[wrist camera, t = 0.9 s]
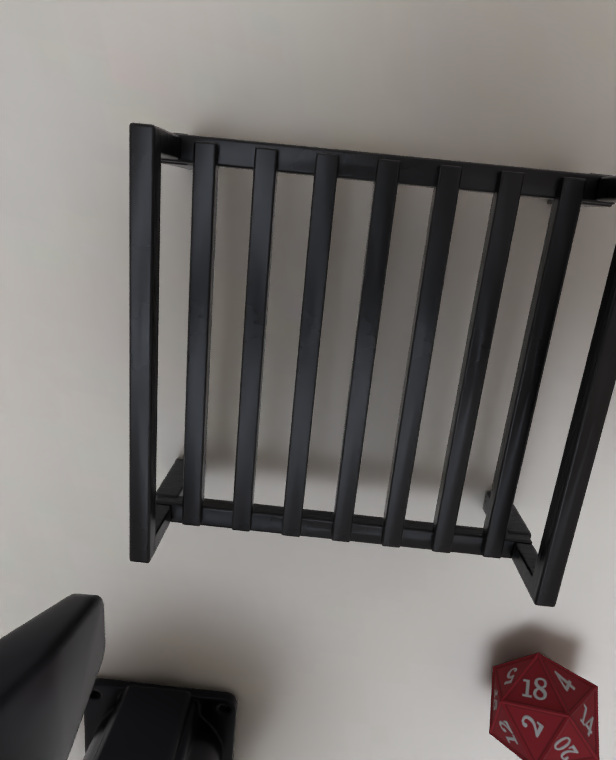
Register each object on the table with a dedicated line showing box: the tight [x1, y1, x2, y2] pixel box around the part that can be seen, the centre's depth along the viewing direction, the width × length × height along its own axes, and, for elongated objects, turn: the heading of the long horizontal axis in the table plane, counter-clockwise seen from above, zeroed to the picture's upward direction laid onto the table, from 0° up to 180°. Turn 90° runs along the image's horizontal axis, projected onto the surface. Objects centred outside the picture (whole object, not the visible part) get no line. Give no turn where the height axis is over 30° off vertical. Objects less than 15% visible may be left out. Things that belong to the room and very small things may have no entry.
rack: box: [129, 123, 616, 607], centre depth 17 cm, size 12×12×6 cm
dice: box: [489, 652, 599, 760], centre depth 22 cm, size 4×4×4 cm
